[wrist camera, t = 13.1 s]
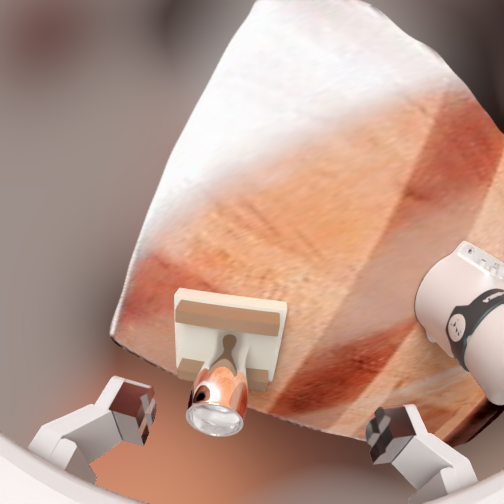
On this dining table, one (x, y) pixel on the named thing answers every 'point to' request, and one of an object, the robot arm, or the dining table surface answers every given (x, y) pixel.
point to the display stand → (231, 319)
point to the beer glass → (221, 387)
